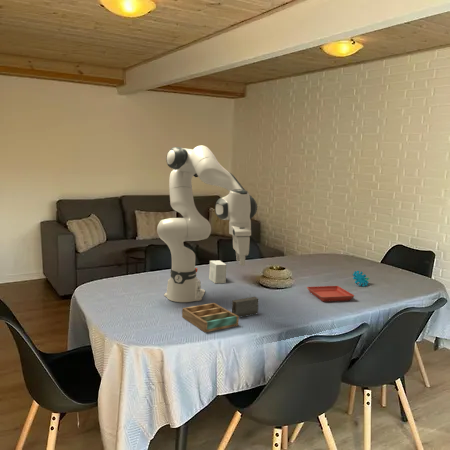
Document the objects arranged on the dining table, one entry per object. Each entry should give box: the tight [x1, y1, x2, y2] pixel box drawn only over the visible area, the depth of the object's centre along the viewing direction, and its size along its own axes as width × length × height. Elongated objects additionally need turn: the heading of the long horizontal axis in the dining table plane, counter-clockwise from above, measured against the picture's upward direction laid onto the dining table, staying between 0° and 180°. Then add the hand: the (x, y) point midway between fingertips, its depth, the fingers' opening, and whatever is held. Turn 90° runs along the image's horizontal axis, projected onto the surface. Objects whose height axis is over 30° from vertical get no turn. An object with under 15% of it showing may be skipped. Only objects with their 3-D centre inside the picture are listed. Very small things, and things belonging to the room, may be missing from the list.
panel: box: [231, 296, 259, 318], centre depth 204 cm, size 12×3×7 cm, turn 123°
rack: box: [181, 302, 240, 333], centre depth 194 cm, size 16×19×4 cm
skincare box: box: [208, 260, 227, 284], centre depth 255 cm, size 10×6×10 cm, turn 22°
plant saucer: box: [306, 285, 355, 303], centre depth 235 cm, size 18×18×3 cm
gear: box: [352, 270, 370, 288], centre depth 260 cm, size 11×6×10 cm
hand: (240, 263), depth 189 cm, fingers open, 8 cm apart
